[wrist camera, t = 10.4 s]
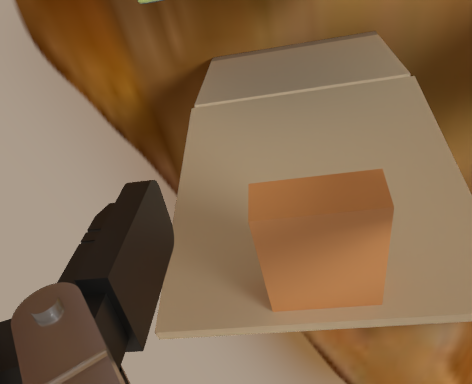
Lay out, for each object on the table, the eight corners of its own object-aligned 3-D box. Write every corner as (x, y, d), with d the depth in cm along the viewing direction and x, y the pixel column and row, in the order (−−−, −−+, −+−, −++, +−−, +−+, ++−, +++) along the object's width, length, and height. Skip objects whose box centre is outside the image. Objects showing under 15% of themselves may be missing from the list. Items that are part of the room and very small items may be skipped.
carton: (375, 31, 33) (410, 73, 24) (375, 190, 41) (401, 261, 33) (212, 57, 35) (194, 105, 27) (243, 204, 43) (236, 275, 35)
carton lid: (413, 84, 25) (427, -25, 20) (521, 318, 15) (595, 204, 10) (194, 116, 27) (163, 23, 22) (159, 339, 17) (93, 251, 12)
